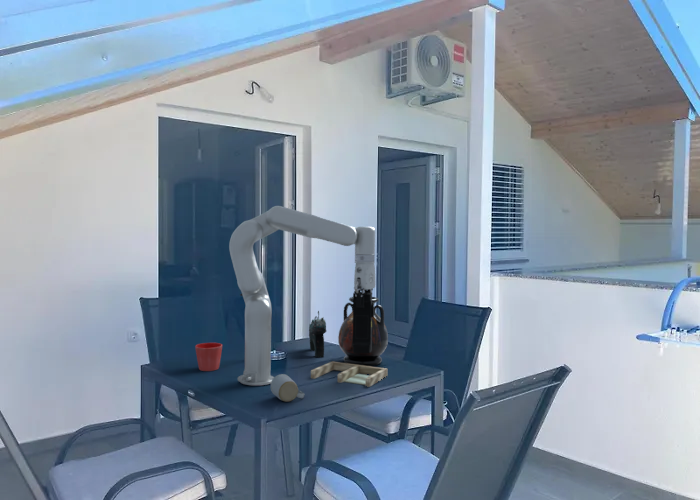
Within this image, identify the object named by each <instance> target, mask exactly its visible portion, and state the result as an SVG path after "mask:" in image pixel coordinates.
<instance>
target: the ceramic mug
mask: <svg viewBox="0 0 700 500" xmlns="http://www.w3.org/2000/svg"><path fill="white" fill-rule="evenodd" d="M270 391H271V393H272V394H273V395H274V396H275V397H276V398H278V399H279V400H280V401H282V402H285V403H288V402H292V401H293V400H294V399H296V398H299V399H304V398H305V393H304V392H303V391H301V390H300V389H299V388H298V385H297V383H296V381H294V380H293V379H292V378H291V377H290V376H288V374H285V373H283V374H282V373H281V374H280V373H279V374H278V375H275V376H274V379H273V380H272V382H271V384H270Z"/></svg>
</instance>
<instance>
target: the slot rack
mask: <svg viewBox="0 0 700 500" xmlns="http://www.w3.org/2000/svg"><path fill="white" fill-rule="evenodd" d="M332 371H338V372H339V371H340V372H339V373H338V374H337V383H349V384H355V385H361V386H362V385H363V386H365V387H366V386H367V388H370V387H372V386H374V385H375V384H377V383H378V381H379V382H380V381H382V380H384V379H385V378H387V377H388V371H389V370H388V368H386V367H385V368H384V367H378V366H364V365H356V364H348V363H346V362H339V361H329V362H328V363H325V364H323V365H320V366H318V367H315V368H313V369H311V370H310V379H314V380H315V379H317V378H320V377H322V376H323V375H325V374H328V373H330V372H332ZM367 374H369V375H367ZM386 376H387V377H386ZM384 377H385V378H384ZM383 378H384V379H383ZM381 379H382V380H381Z"/></svg>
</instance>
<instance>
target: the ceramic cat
mask: <svg viewBox="0 0 700 500" xmlns="http://www.w3.org/2000/svg"><path fill="white" fill-rule="evenodd" d="M317 314H318V316H317V315H316V316H315V317H314V318H313V319H312V320H311V323H309V327H308V336H309V349H310V351H314V357H315V358H324V357H325V354H324V353H325V335H324V334H325V333H327V323H326V319H324V316H323V317H321V318H320V310H318V311H317Z"/></svg>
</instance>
